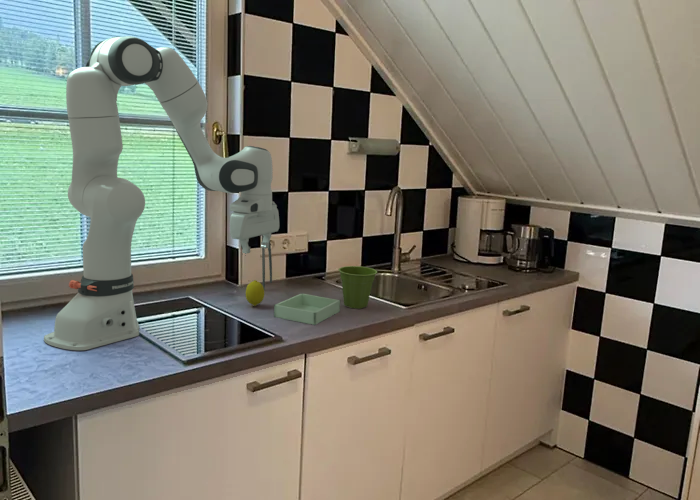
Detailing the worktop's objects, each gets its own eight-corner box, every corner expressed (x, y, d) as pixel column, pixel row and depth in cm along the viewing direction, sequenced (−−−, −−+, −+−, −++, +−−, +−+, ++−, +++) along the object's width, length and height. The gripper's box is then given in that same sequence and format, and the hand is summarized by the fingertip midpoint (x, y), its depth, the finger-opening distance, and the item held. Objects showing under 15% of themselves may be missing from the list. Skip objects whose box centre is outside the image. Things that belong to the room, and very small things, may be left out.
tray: (314, 325, 162) (315, 312, 161) (273, 316, 168) (274, 304, 167) (339, 311, 176) (340, 300, 175) (301, 304, 181) (301, 293, 180)
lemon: (262, 303, 180) (262, 277, 179) (265, 308, 175) (266, 282, 174) (244, 304, 179) (244, 278, 177) (246, 309, 173) (247, 282, 172)
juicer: (272, 282, 205) (274, 196, 200) (264, 290, 195) (266, 199, 189) (244, 280, 206) (245, 194, 201) (235, 288, 195) (236, 197, 190)
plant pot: (347, 313, 175) (349, 275, 172) (330, 302, 185) (331, 267, 183) (382, 309, 180) (384, 273, 178) (363, 299, 190) (365, 265, 188)
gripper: (267, 199, 182) (266, 244, 184) (226, 205, 163) (225, 254, 166) (285, 201, 179) (283, 246, 182) (245, 207, 161) (244, 257, 163)
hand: (255, 250), depth 174 cm, fingers open, 8 cm apart
